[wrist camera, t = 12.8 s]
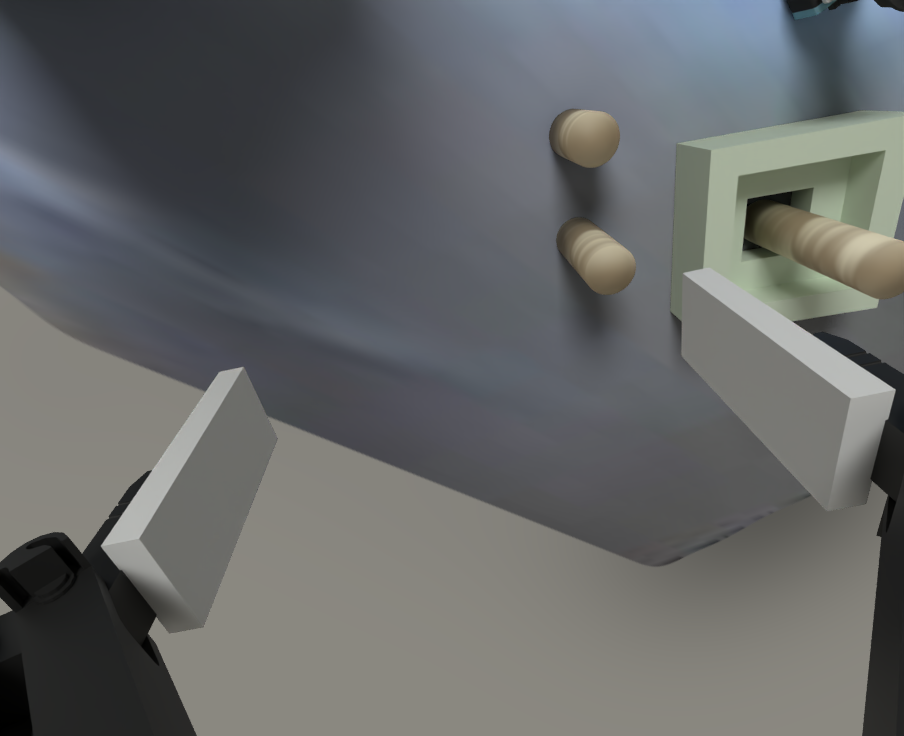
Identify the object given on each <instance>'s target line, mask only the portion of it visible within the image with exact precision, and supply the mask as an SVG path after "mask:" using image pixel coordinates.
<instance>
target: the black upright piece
mask: <svg viewBox="0 0 904 736" xmlns="http://www.w3.org/2000/svg"><path fill="white" fill-rule="evenodd" d="M854 1H858V0H787V2H788V4H789V7H790V9H791V11H792V14H793V16H794V18H795V20H799V19H802V18H807V17H812V16H816V15H818V14H820V13H821V12H823V11H824V10H825V9H826V8H828V9H829V10H833V9H836V8H837V7H838V6H840V5H841V4H845V3H850V2H854ZM874 1H875V2H876V3H877V4H878V5H879V6H880V7H892V8H893V9H895V10H898V11H902V12H904V0H874Z"/></svg>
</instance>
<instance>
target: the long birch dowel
mask: <svg viewBox="0 0 904 736" xmlns="http://www.w3.org/2000/svg"><path fill="white" fill-rule="evenodd" d="M743 238H744V239H746V240H748V241H750V242H753V243H755V244H757V245H759V246H761V247H764V248H766V249H768V250H770V251H772V252H774V253H777V254H779V255H781V256H783V257H785V258H788V259H790V260H792V261H794V262H796V263H798V264H801V265H803V266H805V267H807V268H809V269H812V270H814V271H816V272H818V273H820V274H822V275H825V276H827V277H829V278H831V279H833V280H836V281H838V282H840V283H842V284H844V285H846V286H849V287H851V288H853V289H855V290H857V291H860V292H862V293H864V294H866V295H868V296H870V297H873V298H876V299H888V298H892V297H895V296H897V295H899V294H901V293H903V292H904V241H901V240H897V239H894V238H891V237H888V236H884V235H881V234H878V233H875V232H872V231H868V230H865V229H862V228H859V227H855V226H852V225H849V224H846V223H843V222H839V221H836V220H833V219H830V218H826V217H823V216H820V215H817V214H814V213H810V212H807V211H804V210H801V209H797V208H794V207H791V206H788V205H785V204H781V203H778V202H775V201H772V200H768V199H762V200H758V201H755V202H753V203H752V204H750V205H749V206H748V207H747V208H746V218H745V227H744V237H743Z"/></svg>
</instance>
